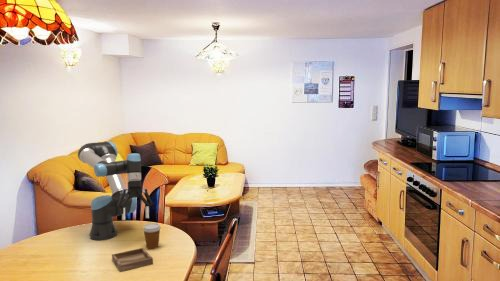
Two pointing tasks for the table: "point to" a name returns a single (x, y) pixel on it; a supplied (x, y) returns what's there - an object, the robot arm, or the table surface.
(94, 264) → the table surface
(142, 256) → the walnut tray
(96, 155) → the robot arm
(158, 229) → the disposable coffee cup
